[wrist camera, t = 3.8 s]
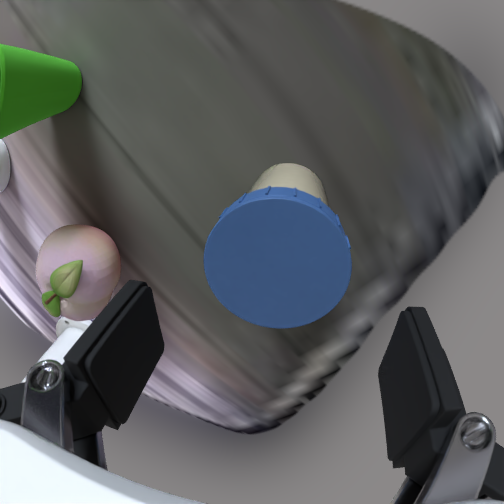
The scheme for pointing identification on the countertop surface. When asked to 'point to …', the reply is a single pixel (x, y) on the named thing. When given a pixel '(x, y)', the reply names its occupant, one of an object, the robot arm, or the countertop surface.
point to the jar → (291, 180)
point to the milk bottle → (4, 166)
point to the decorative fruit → (77, 271)
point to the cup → (34, 87)
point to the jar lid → (278, 258)
